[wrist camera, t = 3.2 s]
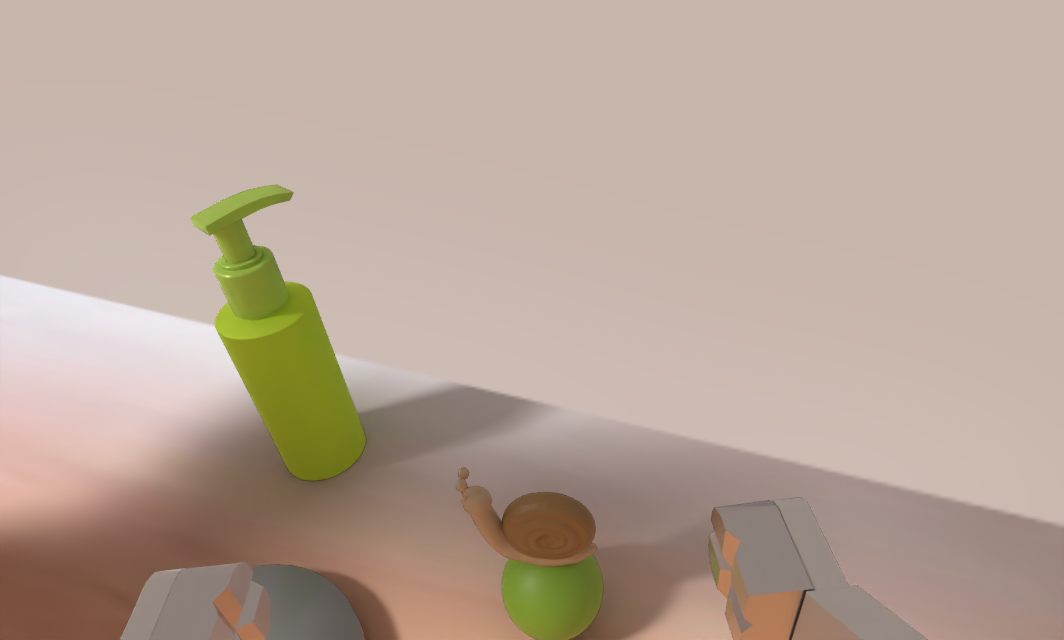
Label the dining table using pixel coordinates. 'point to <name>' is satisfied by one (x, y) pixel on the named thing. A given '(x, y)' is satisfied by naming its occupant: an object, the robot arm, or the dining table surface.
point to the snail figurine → (542, 559)
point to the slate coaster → (306, 605)
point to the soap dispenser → (281, 345)
